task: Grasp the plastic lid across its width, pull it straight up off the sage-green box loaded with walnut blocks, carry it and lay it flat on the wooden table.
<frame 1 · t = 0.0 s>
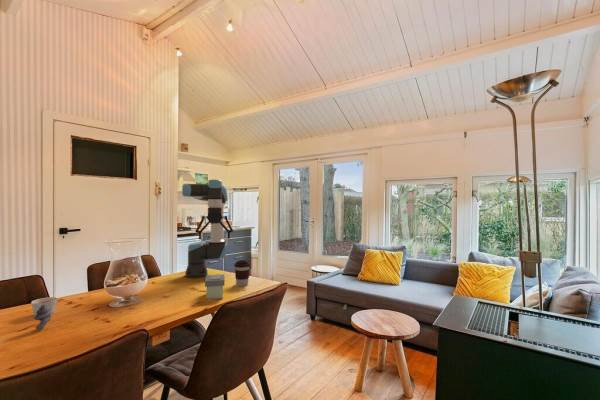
hand: (214, 244, 166), 28 cm above the table, fingers open, 13 cm apart
lid: (215, 284, 164), point 6 cm above the table, touching box
box: (214, 295, 164), on the table
seashell: (43, 329, 119), on the table
coffee cup: (242, 285, 186), on the table
grey bowl: (44, 314, 135), on the table
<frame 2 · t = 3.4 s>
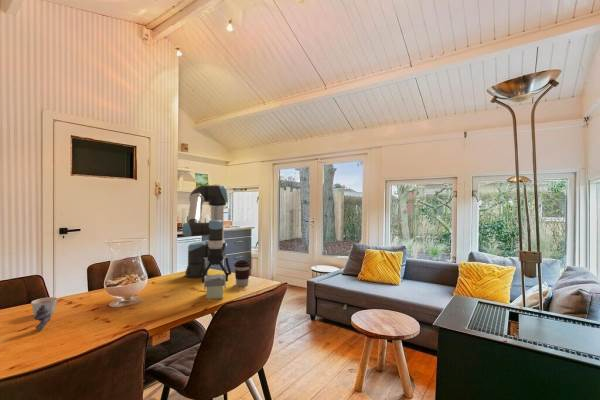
hand: (215, 287, 164), 4 cm above the table, fingers closed on lid, 10 cm apart
lid: (215, 284, 164), point 6 cm above the table, touching box, gripper
everything else where it was.
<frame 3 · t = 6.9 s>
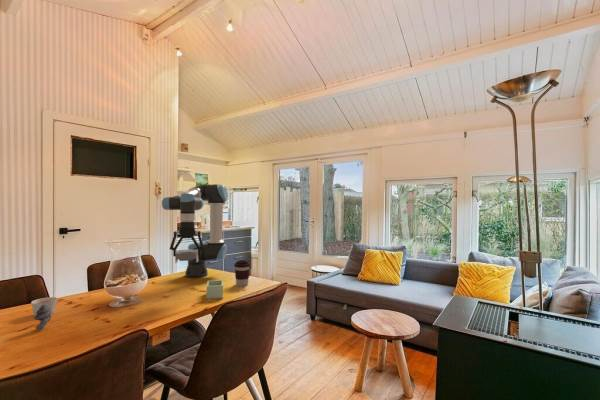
hand: (186, 262, 161), 19 cm above the table, fingers closed on lid, 10 cm apart
lid: (186, 258, 161), point 21 cm above the table, touching gripper
everything else where it was.
when the fingers open (1 cm above the table, at t = 10.5 s): lid drops 3 cm, on the table.
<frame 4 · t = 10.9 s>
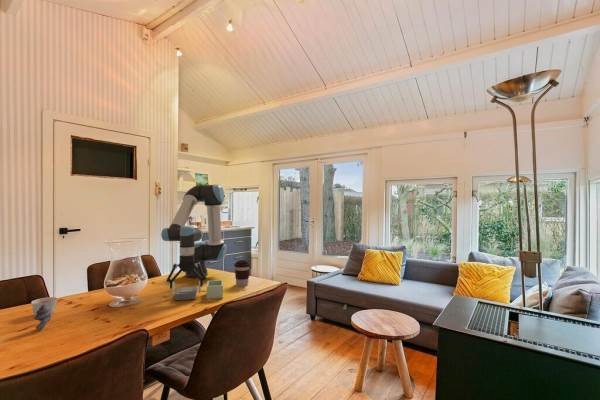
hand: (186, 293, 161), 2 cm above the table, fingers open, 13 cm apart
lid: (186, 297, 161), on the table
everything else where it was.
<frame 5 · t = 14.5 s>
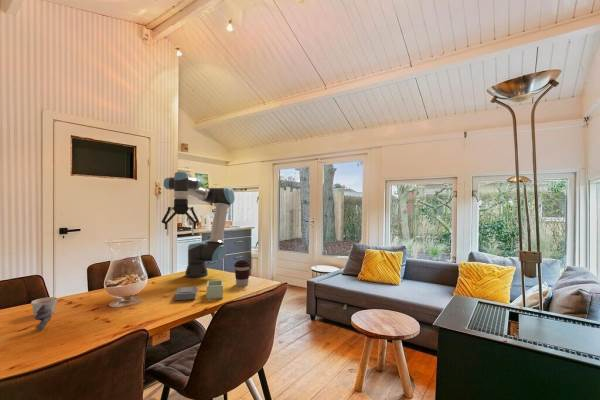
hand: (180, 235, 172), 33 cm above the table, fingers open, 13 cm apart
nothing on the table moved.
at the end: lid inside the target area (0.0 cm from its centre), on the table; lid tilted 0°; the gripper is holding nothing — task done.
